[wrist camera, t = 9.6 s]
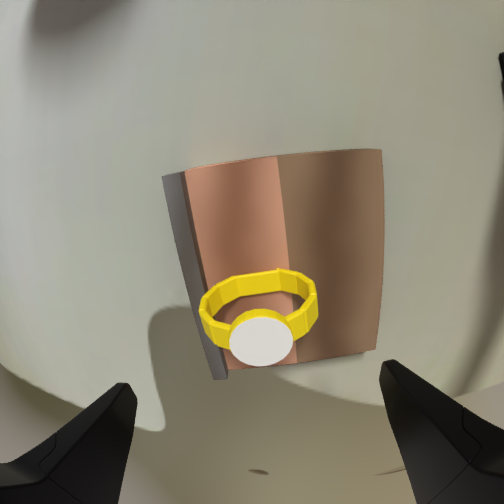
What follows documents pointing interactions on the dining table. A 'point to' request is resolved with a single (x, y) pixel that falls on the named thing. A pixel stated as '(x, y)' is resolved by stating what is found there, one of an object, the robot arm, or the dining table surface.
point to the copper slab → (286, 243)
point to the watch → (259, 316)
